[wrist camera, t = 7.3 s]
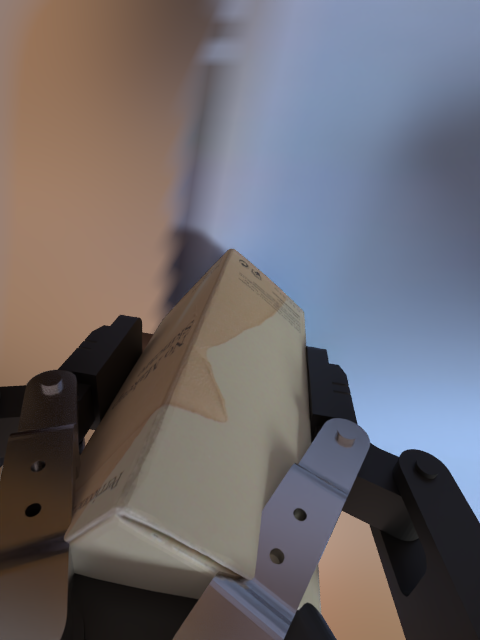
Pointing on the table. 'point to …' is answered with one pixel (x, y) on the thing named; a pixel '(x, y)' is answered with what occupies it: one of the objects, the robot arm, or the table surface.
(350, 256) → the table surface
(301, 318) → the box
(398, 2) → the table surface
